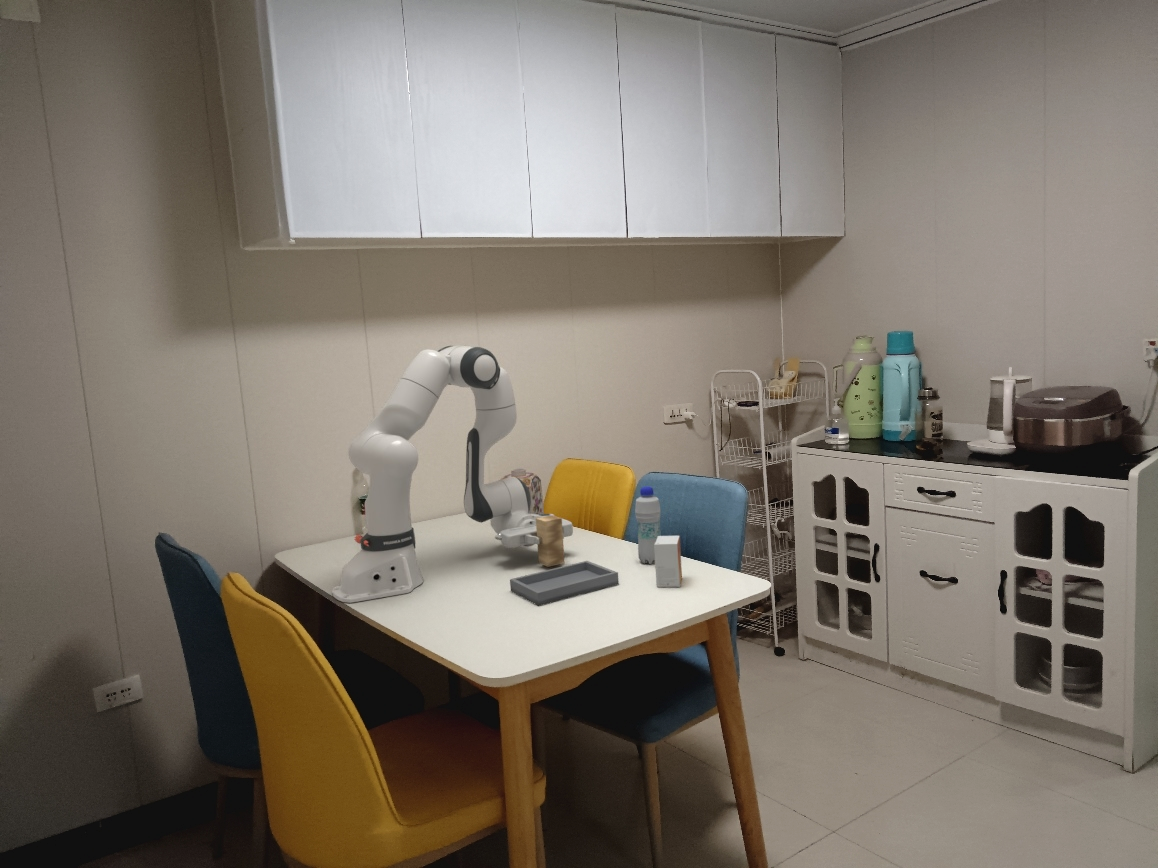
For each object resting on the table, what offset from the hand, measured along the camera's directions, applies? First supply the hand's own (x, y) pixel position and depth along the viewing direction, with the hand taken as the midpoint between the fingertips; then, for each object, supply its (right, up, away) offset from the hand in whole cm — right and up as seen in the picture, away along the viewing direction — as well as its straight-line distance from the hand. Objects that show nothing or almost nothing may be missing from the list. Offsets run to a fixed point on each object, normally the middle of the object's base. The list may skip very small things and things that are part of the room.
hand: (550, 538), depth 213 cm
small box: (+29, -8, -19) cm, 36 cm away
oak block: (0, -6, +1) cm, 7 cm away
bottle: (+26, -6, -1) cm, 27 cm away
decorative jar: (-11, -2, +53) cm, 54 cm away
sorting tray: (+4, -10, -17) cm, 20 cm away
